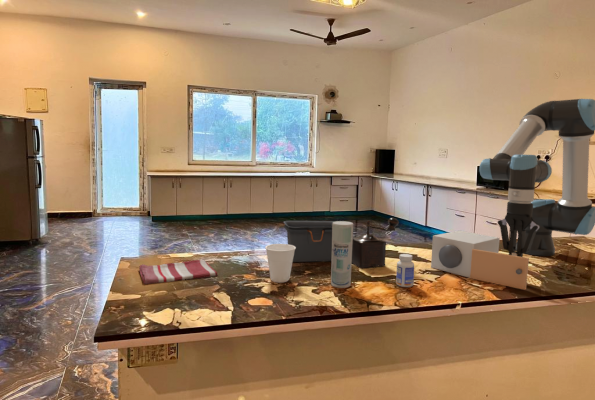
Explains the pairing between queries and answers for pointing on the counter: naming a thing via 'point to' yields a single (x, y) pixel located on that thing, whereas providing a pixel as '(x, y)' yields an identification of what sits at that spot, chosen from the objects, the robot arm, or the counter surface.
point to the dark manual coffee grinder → (371, 247)
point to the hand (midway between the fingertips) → (514, 271)
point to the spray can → (341, 254)
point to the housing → (459, 250)
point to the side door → (499, 268)
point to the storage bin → (310, 240)
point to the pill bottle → (405, 271)
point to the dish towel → (176, 271)
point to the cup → (280, 261)
